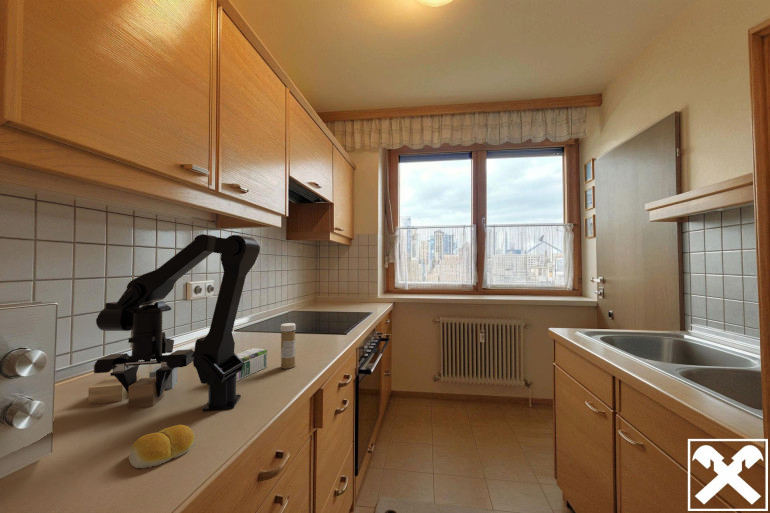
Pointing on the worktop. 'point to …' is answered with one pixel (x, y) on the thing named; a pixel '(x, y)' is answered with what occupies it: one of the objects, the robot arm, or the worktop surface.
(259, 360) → the syrup box
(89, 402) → the oak base block
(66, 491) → the worktop surface
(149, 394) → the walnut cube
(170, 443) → the bread roll
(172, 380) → the slate-grey cube
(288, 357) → the sprinkles bottle
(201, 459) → the worktop surface
